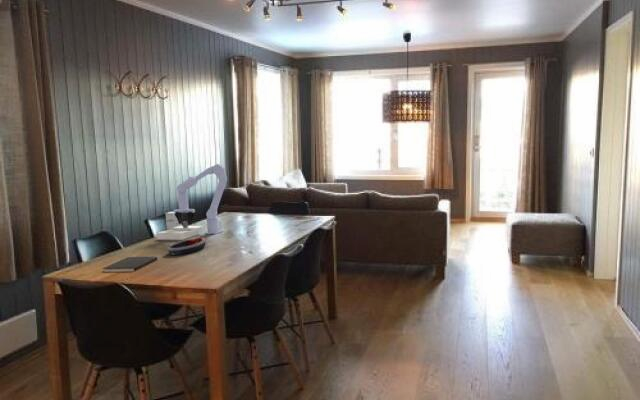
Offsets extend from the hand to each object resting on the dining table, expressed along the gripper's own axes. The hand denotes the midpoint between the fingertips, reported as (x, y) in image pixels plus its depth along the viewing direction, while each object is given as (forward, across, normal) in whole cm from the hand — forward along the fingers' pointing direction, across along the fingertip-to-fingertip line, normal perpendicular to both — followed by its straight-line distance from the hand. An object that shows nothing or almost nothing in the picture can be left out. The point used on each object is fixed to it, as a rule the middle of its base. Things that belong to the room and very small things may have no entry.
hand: (185, 223), depth 340 cm
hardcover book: (+8, +22, -77) cm, 81 cm away
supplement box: (+7, -19, +14) cm, 25 cm away
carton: (+7, 0, -9) cm, 12 cm away
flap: (+3, 0, +3) cm, 4 cm away
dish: (+8, +30, -41) cm, 51 cm away
